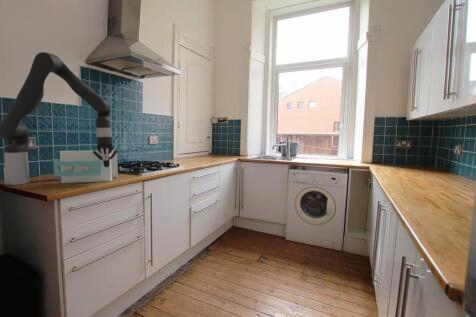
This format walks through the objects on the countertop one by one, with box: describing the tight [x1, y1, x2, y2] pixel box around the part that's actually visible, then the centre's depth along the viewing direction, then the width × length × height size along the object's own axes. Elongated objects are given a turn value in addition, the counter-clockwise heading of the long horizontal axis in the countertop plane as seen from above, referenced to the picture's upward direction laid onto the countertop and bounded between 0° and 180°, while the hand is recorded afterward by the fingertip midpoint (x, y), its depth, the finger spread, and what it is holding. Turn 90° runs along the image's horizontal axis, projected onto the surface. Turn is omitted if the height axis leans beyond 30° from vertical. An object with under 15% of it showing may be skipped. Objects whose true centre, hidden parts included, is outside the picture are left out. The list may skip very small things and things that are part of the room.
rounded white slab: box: [95, 147, 119, 179], centre depth 161 cm, size 29×8×18 cm, turn 44°
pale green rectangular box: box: [59, 150, 113, 184], centre depth 136 cm, size 25×13×18 cm, turn 108°
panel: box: [53, 160, 102, 177], centre depth 131 cm, size 22×1×8 cm, turn 108°
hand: (106, 166), depth 136 cm, fingers closed
